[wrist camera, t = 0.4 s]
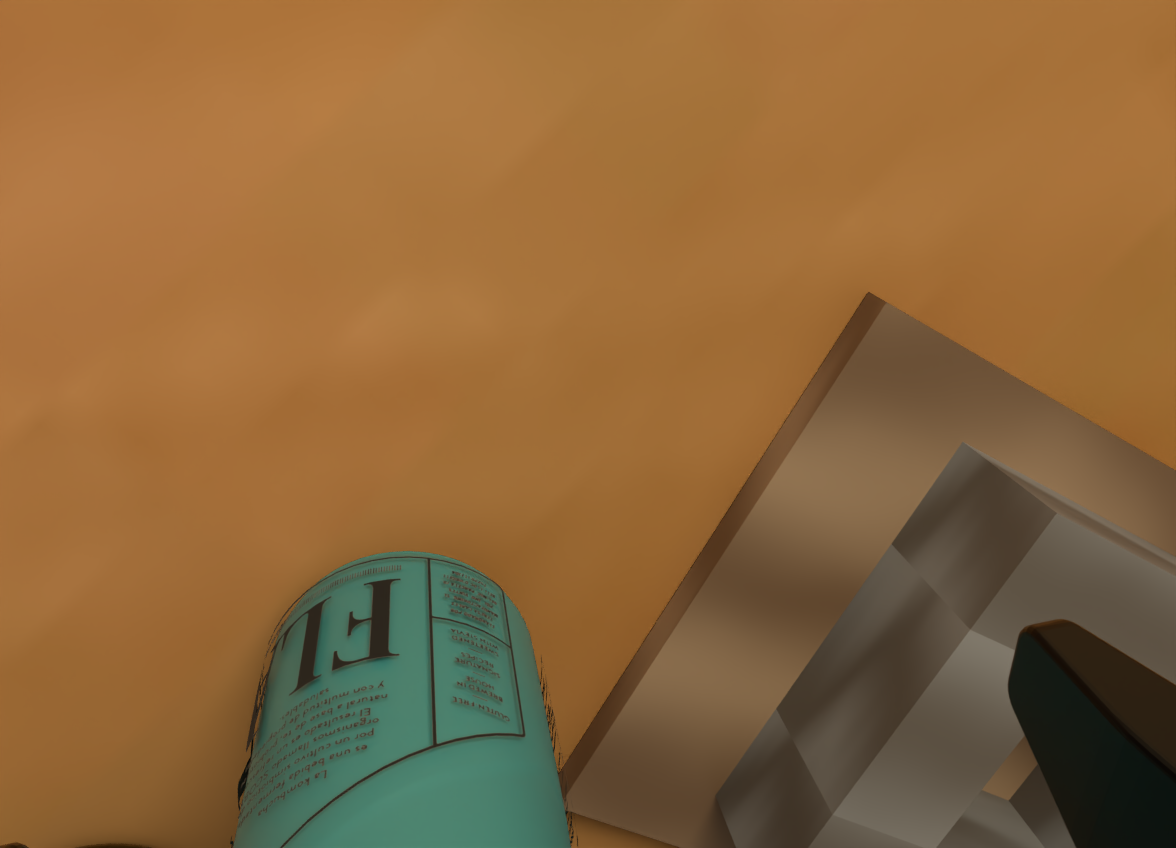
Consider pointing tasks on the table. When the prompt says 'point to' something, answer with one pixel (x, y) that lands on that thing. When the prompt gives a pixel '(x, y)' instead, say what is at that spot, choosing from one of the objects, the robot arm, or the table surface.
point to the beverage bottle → (402, 718)
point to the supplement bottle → (113, 846)
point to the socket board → (824, 559)
